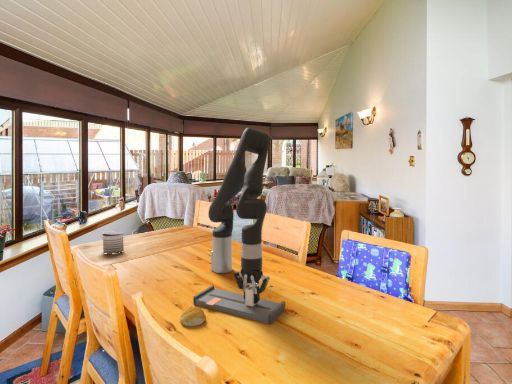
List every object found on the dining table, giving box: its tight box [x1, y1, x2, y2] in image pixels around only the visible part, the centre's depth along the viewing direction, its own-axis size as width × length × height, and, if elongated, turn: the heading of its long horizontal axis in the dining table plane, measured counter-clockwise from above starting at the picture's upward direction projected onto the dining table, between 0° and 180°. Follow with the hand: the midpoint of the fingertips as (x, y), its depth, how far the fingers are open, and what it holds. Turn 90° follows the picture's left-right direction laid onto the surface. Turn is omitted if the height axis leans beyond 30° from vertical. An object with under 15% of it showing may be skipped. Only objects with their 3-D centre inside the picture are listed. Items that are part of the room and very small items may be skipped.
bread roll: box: [179, 306, 207, 327], centre depth 109 cm, size 8×9×4 cm
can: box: [102, 230, 125, 254], centre depth 188 cm, size 11×11×12 cm
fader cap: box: [245, 284, 257, 307], centre depth 116 cm, size 3×4×6 cm
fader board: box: [192, 285, 286, 325], centre depth 118 cm, size 32×13×3 cm, turn 62°
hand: (251, 301), depth 116 cm, fingers closed on fader cap, 3 cm apart
